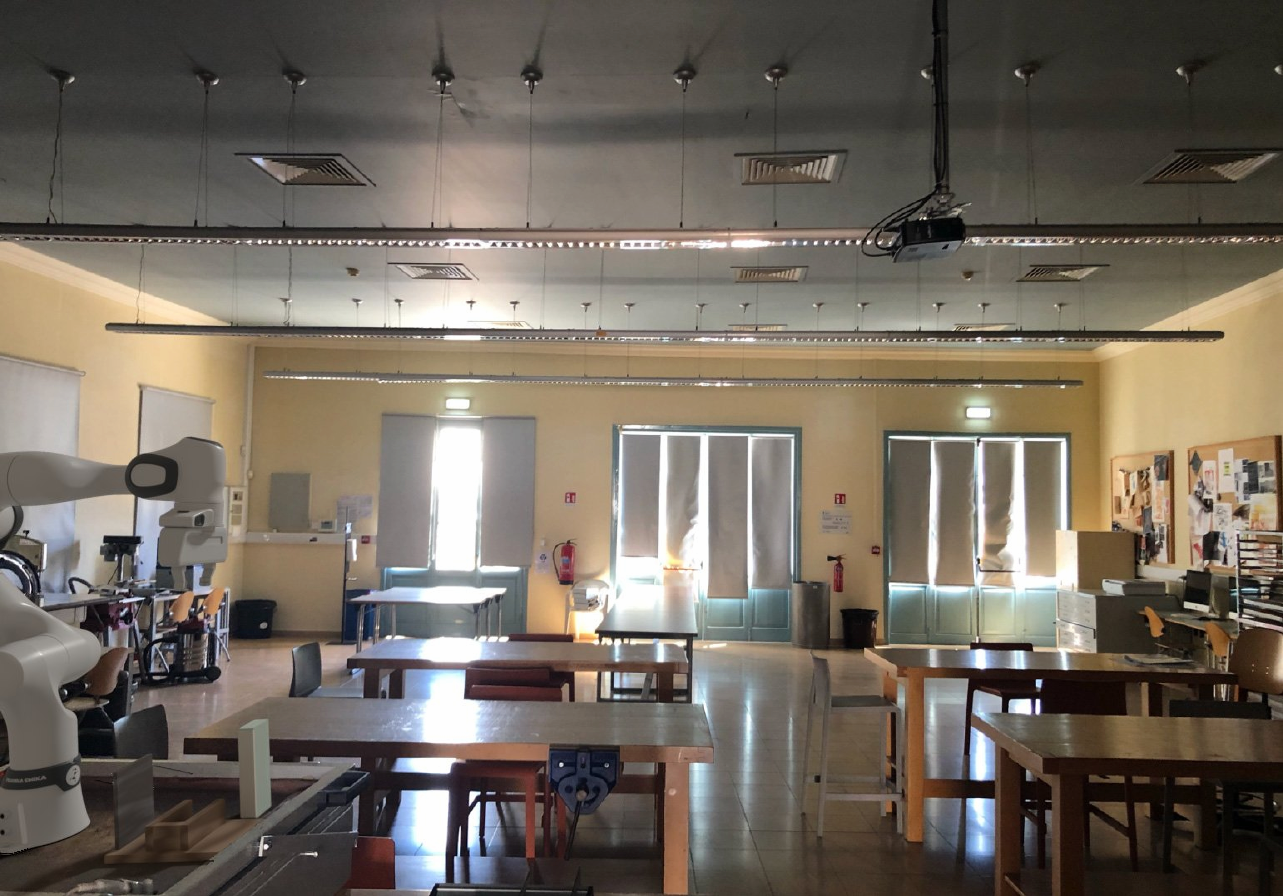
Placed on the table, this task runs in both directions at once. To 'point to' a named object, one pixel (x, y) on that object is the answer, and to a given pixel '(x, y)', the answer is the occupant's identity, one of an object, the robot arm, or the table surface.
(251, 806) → the pale green flat block
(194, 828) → the stand
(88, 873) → the table surface
